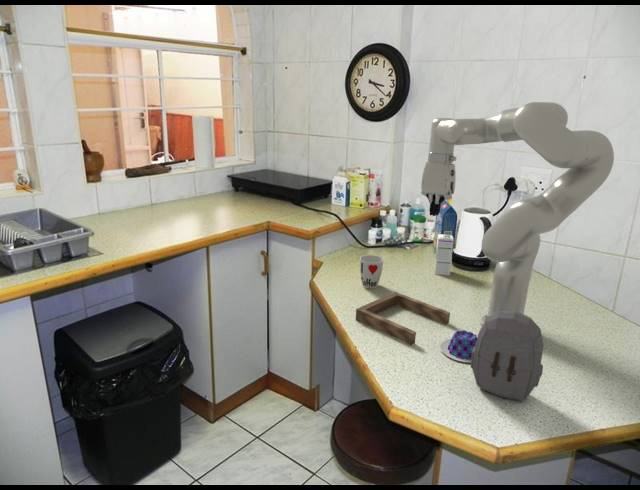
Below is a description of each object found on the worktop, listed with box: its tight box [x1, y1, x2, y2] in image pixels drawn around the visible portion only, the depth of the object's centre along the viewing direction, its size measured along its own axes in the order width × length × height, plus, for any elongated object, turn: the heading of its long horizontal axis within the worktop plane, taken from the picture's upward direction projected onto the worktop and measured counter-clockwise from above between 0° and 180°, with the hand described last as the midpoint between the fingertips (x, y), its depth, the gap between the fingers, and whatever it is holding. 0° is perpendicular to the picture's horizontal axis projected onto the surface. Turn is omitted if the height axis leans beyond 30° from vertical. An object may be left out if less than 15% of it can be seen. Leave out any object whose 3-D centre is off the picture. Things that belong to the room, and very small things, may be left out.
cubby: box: [355, 291, 451, 346], centre depth 138 cm, size 20×19×4 cm
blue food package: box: [432, 198, 458, 255], centre depth 196 cm, size 6×12×25 cm, turn 178°
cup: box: [359, 254, 384, 289], centre depth 162 cm, size 8×8×10 cm
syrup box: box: [434, 234, 454, 276], centre depth 176 cm, size 6×6×14 cm
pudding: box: [439, 330, 478, 363], centre depth 122 cm, size 12×12×5 cm
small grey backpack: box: [470, 311, 545, 401], centre depth 103 cm, size 15×8×20 cm, turn 59°
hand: (434, 214), depth 152 cm, fingers closed
